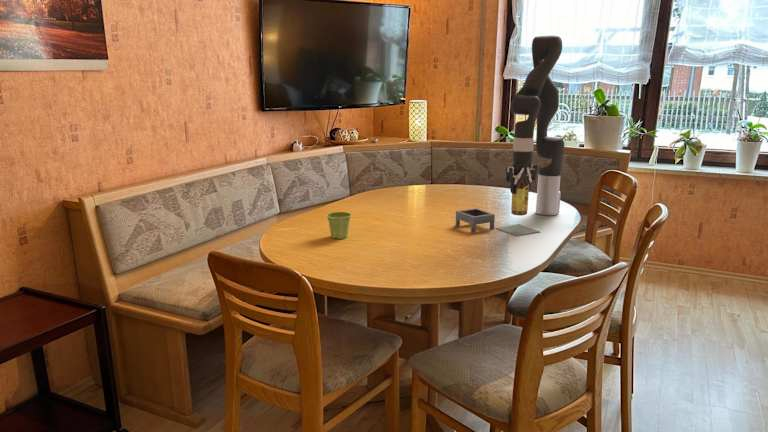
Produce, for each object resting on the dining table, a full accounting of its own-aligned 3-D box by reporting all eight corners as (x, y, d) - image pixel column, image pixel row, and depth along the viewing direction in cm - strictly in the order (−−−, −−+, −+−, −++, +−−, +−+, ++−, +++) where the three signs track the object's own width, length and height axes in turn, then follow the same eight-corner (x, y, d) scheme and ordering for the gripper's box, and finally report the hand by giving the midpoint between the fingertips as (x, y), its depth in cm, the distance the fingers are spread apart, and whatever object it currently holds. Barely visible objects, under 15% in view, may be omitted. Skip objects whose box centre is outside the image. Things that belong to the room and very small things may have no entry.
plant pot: (332, 241, 211) (332, 219, 209) (323, 235, 219) (322, 213, 217) (355, 238, 215) (355, 216, 213) (345, 232, 224) (345, 210, 221)
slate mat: (519, 224, 234) (519, 224, 234) (540, 232, 224) (540, 231, 224) (496, 228, 229) (496, 227, 228) (516, 236, 218) (516, 235, 218)
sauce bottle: (527, 216, 221) (530, 165, 216) (510, 215, 222) (513, 164, 217) (526, 212, 227) (530, 162, 222) (510, 211, 228) (513, 162, 224)
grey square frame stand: (475, 222, 238) (476, 208, 237) (494, 228, 228) (494, 214, 227) (455, 225, 233) (456, 211, 232) (473, 232, 224) (473, 217, 222)
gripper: (530, 147, 225) (527, 189, 229) (501, 149, 218) (499, 192, 222) (544, 149, 219) (541, 192, 223) (515, 151, 212) (512, 196, 216)
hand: (520, 192), depth 223 cm, fingers closed on sauce bottle, 6 cm apart
